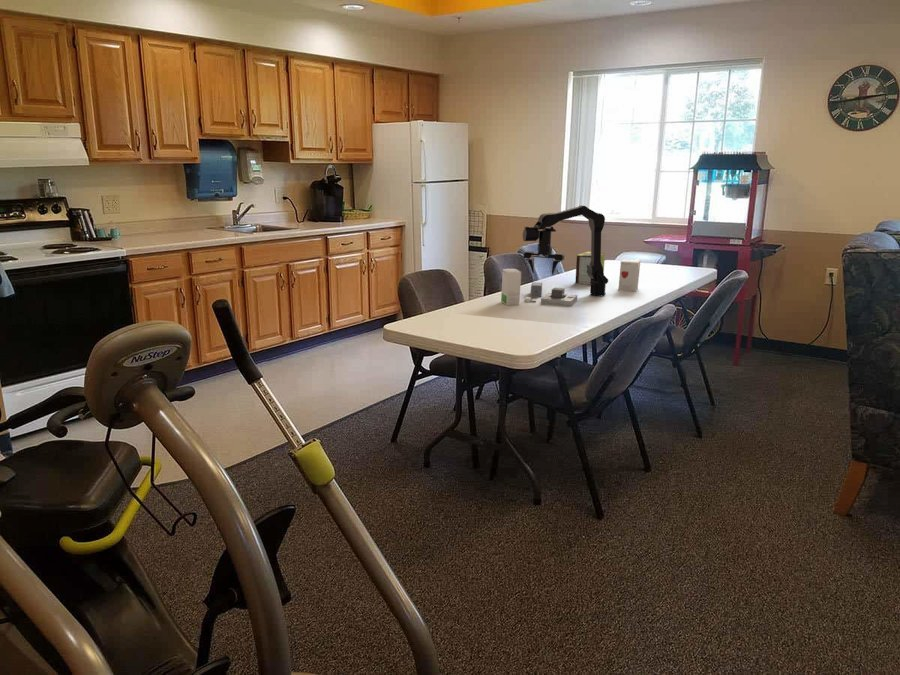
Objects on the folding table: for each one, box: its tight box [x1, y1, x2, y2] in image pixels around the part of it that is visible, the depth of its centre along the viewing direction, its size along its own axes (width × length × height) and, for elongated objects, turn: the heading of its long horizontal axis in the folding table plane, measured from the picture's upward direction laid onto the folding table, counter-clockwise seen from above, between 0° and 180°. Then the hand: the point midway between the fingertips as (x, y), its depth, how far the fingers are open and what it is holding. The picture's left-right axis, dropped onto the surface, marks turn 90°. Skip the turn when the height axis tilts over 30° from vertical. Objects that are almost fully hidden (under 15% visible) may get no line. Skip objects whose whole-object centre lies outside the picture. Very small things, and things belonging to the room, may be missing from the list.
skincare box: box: [500, 268, 522, 307], centre depth 296 cm, size 8×7×16 cm
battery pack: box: [530, 281, 543, 298], centre depth 316 cm, size 5×9×6 cm, turn 170°
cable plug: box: [524, 296, 537, 303], centre depth 302 cm, size 5×3×2 cm, turn 68°
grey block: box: [551, 287, 565, 298], centre depth 302 cm, size 5×5×7 cm
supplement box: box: [618, 258, 642, 292], centre depth 329 cm, size 9×9×15 cm
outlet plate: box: [540, 292, 578, 307], centre depth 301 cm, size 14×14×3 cm
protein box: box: [574, 251, 606, 286], centre depth 348 cm, size 10×15×16 cm
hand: (542, 273), depth 310 cm, fingers open, 9 cm apart
